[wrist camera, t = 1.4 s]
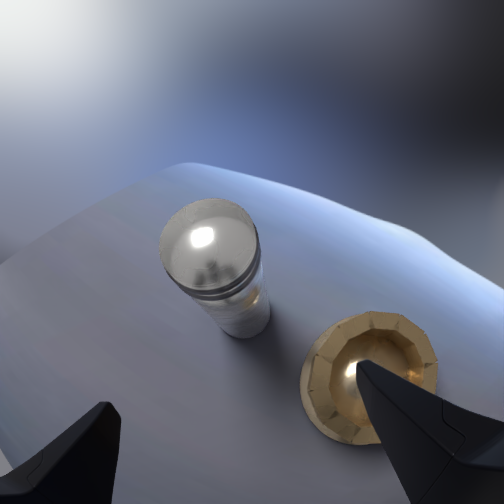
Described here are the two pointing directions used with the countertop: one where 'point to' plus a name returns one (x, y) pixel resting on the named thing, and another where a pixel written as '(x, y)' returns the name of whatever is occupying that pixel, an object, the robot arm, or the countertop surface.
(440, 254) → the countertop surface
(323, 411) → the ring collar
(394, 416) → the robot arm
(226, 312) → the cylinder
